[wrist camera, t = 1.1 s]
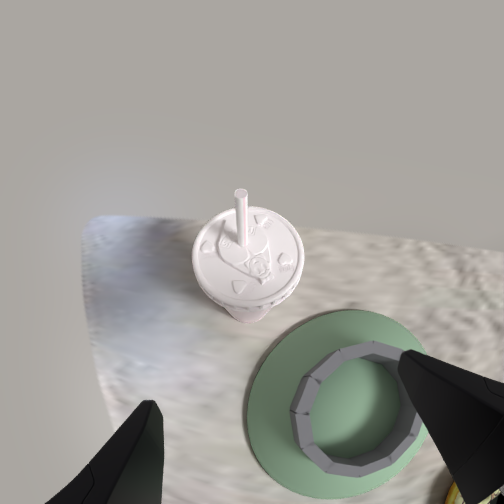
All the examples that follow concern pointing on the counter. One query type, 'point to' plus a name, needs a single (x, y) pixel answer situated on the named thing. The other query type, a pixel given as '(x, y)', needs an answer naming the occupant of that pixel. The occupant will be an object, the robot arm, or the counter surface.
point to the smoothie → (247, 259)
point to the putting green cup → (335, 406)
